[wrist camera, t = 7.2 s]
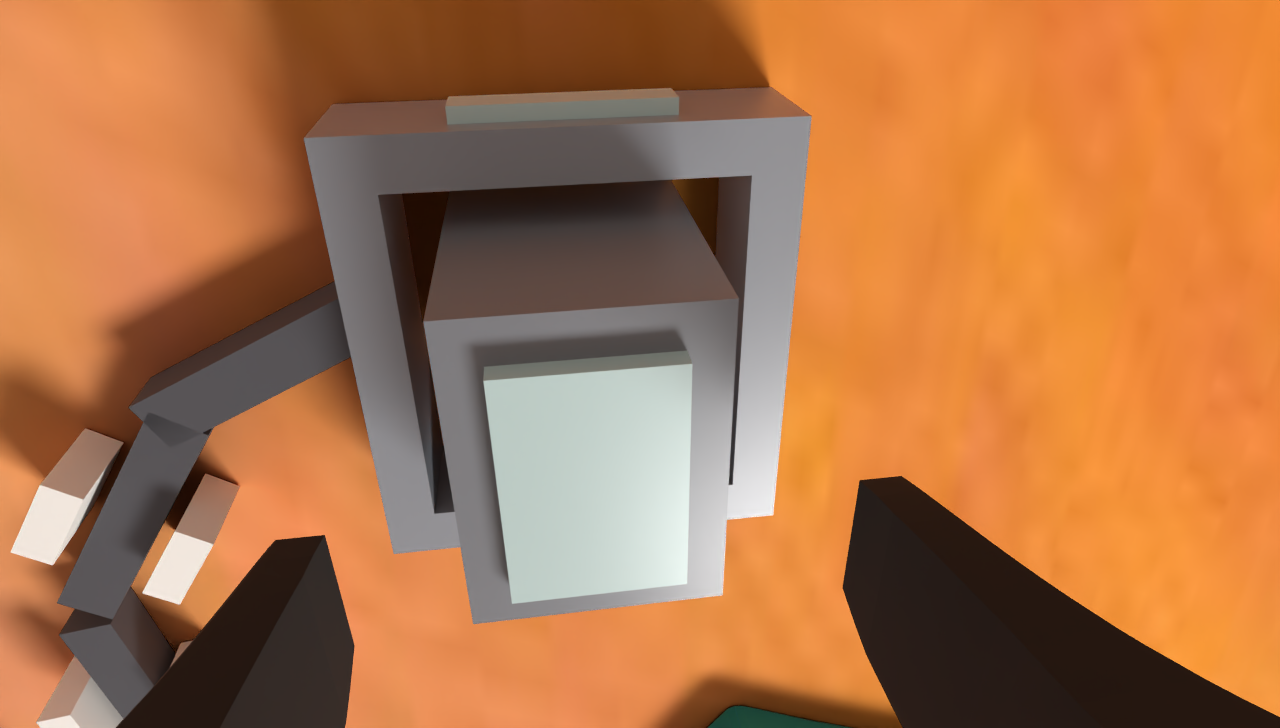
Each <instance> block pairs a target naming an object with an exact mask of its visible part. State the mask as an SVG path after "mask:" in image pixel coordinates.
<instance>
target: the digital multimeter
mask: <svg viewBox="0 0 1280 728" xmlns="http://www.w3.org/2000/svg"><path fill="white" fill-rule="evenodd" d="M708 728H851V727H845V726H840V725H835V724H829V723H824V722H818V721H812V720H807V719H802V718H798V717H793V716H789V715H784V714H780V713H775V712H771V711H766V710H761V709H757V708H751V707H746V706H733V707H730V708H728V709H727V710H726V711H724V712H723V713H722V714H721V715H720V716H719V717H718V718H717V719H716V720H715V721H714V722H713V723H712V724H711V725H710V726H709V727H708Z"/></svg>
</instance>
